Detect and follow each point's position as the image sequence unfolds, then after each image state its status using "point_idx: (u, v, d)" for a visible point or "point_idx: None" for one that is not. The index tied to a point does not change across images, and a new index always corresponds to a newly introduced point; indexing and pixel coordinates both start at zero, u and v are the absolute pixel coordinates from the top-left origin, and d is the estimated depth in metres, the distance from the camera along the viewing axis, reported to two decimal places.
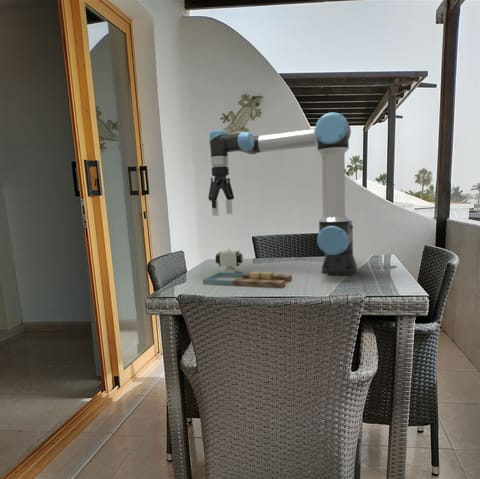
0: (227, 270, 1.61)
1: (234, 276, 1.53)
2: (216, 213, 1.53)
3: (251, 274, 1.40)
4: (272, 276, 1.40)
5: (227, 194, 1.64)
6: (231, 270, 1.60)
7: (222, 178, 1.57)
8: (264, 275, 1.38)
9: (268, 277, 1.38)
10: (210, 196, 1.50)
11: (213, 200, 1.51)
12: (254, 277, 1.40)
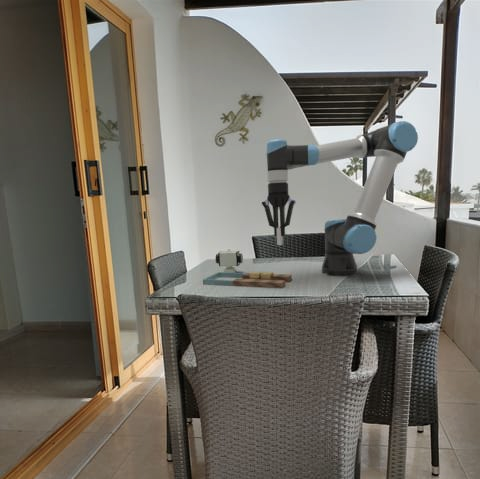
0: (227, 270, 1.61)
1: (234, 276, 1.53)
2: None
3: (251, 274, 1.40)
4: (272, 276, 1.40)
5: None
6: (231, 270, 1.60)
7: (276, 196, 1.33)
8: (264, 275, 1.38)
9: (268, 277, 1.38)
10: None
11: (274, 227, 1.36)
12: (254, 277, 1.40)
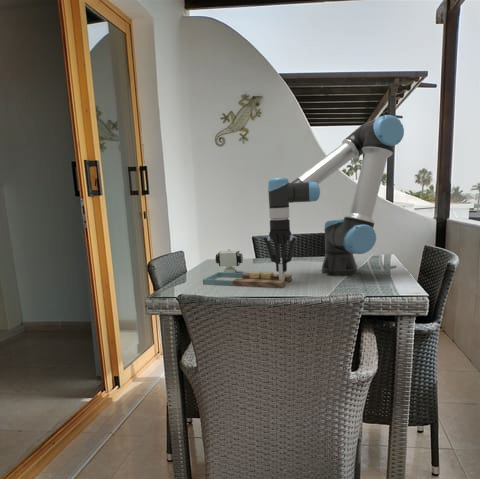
0: (227, 270, 1.61)
1: (234, 276, 1.53)
2: None
3: (251, 274, 1.40)
4: (272, 276, 1.40)
5: None
6: (231, 270, 1.60)
7: (278, 233, 1.35)
8: (264, 275, 1.38)
9: (268, 277, 1.38)
10: None
11: (276, 263, 1.37)
12: (254, 277, 1.40)
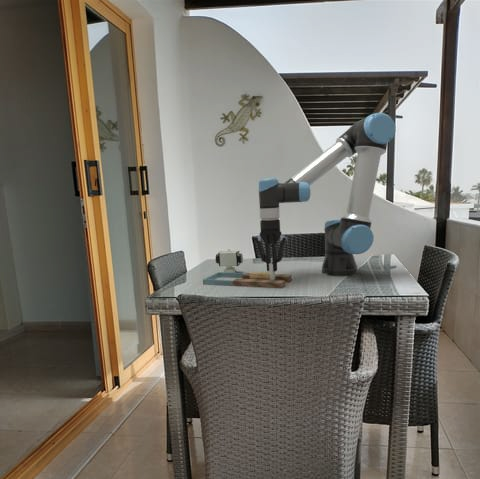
0: (227, 270, 1.61)
1: (234, 276, 1.53)
2: None
3: (251, 274, 1.40)
4: None
5: None
6: (231, 270, 1.60)
7: (268, 233, 1.36)
8: (263, 275, 1.38)
9: (267, 277, 1.38)
10: None
11: None
12: (254, 277, 1.40)
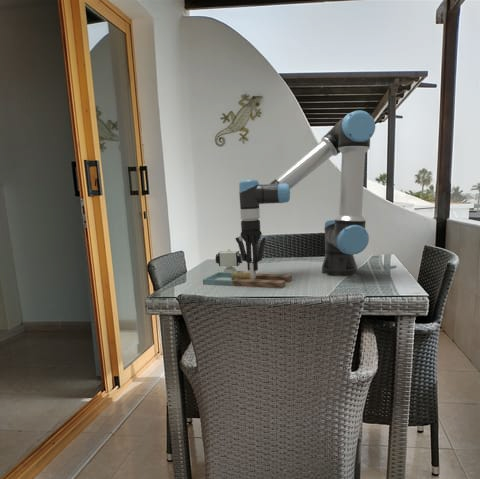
0: (227, 270, 1.61)
1: None
2: None
3: (232, 273, 1.43)
4: None
5: None
6: (231, 270, 1.60)
7: (249, 233, 1.39)
8: (243, 274, 1.41)
9: (247, 276, 1.41)
10: None
11: (247, 262, 1.42)
12: (236, 276, 1.43)
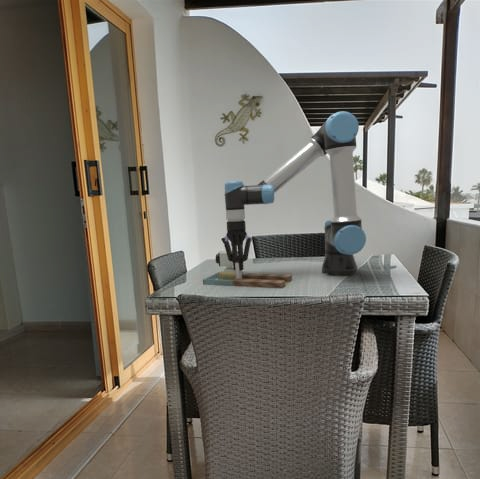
0: (227, 270, 1.61)
1: None
2: None
3: (219, 274, 1.46)
4: None
5: None
6: (231, 270, 1.60)
7: (234, 233, 1.42)
8: (229, 275, 1.44)
9: (233, 277, 1.43)
10: None
11: (233, 262, 1.44)
12: (222, 277, 1.45)
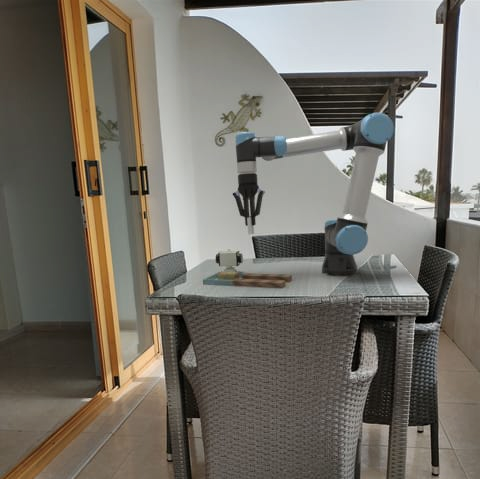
0: (227, 270, 1.61)
1: None
2: None
3: (218, 274, 1.46)
4: (237, 276, 1.46)
5: None
6: (231, 270, 1.60)
7: (246, 187, 1.38)
8: (229, 275, 1.44)
9: (233, 277, 1.44)
10: None
11: (245, 217, 1.41)
12: (221, 277, 1.45)
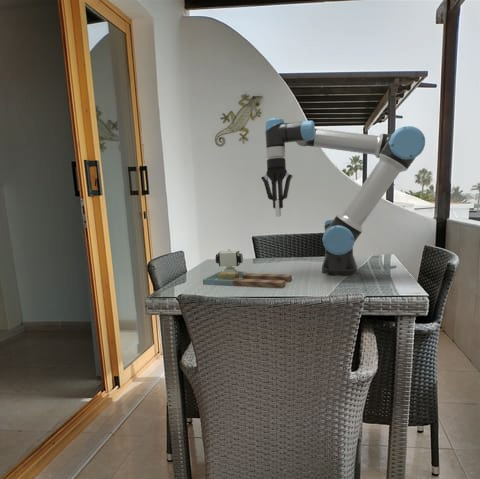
0: (227, 270, 1.61)
1: None
2: None
3: (218, 274, 1.46)
4: (237, 276, 1.46)
5: None
6: (231, 270, 1.60)
7: (274, 171, 1.44)
8: (229, 275, 1.44)
9: (233, 277, 1.44)
10: None
11: (272, 200, 1.47)
12: (221, 277, 1.45)
